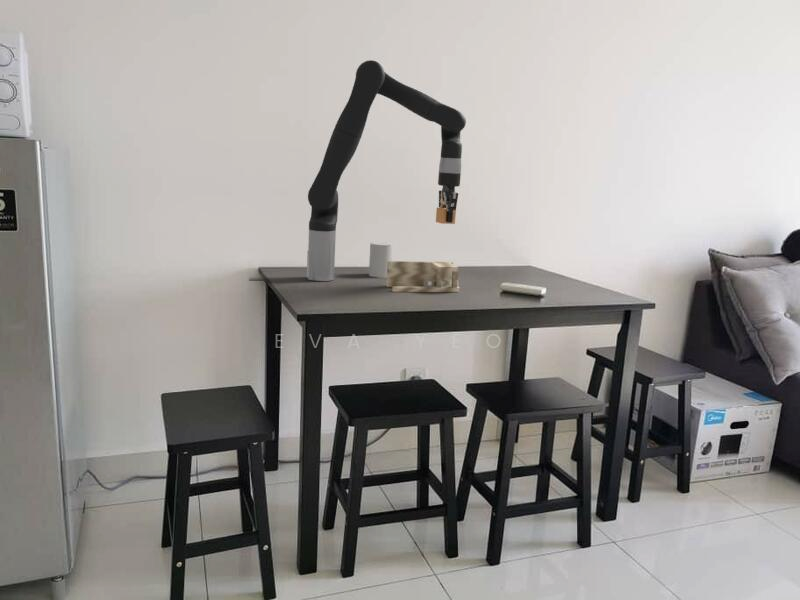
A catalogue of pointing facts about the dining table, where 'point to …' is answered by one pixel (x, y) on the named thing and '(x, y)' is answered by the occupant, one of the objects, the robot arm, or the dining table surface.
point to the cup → (379, 259)
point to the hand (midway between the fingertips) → (446, 221)
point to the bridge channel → (421, 276)
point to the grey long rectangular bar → (444, 283)
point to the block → (443, 216)
